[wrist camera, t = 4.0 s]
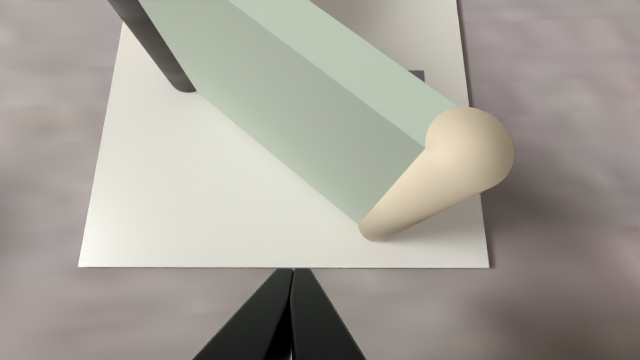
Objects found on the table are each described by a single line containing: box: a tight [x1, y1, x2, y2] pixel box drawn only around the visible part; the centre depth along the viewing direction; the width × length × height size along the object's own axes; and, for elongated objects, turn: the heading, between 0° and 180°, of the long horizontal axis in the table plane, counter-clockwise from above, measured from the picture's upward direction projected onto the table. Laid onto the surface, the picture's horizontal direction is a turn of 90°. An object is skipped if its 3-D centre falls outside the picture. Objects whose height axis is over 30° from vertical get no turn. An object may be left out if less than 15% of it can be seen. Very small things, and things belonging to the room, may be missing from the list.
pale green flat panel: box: [138, 0, 514, 242], centre depth 13 cm, size 2×13×11 cm, turn 50°
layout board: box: [78, 0, 489, 268], centre depth 21 cm, size 27×21×1 cm
